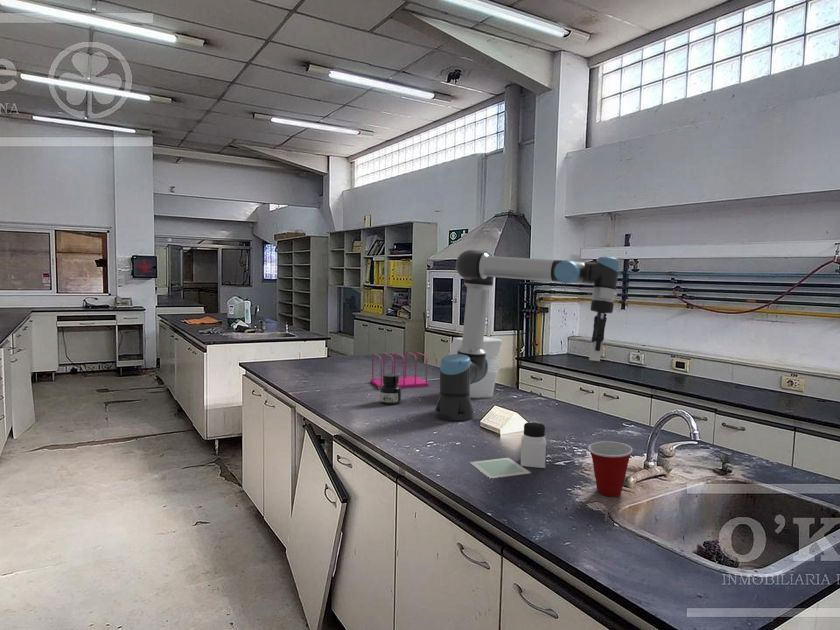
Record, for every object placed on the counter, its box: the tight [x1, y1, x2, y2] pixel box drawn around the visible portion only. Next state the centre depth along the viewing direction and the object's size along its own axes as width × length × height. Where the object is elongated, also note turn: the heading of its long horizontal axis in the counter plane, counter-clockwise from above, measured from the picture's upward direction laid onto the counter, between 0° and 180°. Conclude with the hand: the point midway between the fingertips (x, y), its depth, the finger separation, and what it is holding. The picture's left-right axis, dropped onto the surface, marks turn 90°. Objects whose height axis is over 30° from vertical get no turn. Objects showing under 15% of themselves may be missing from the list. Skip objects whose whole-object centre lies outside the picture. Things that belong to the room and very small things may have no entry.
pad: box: [469, 457, 532, 480], centre depth 154 cm, size 13×13×1 cm
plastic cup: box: [587, 441, 634, 497], centre depth 137 cm, size 11×11×12 cm
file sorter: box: [370, 351, 430, 389], centre depth 265 cm, size 17×25×16 cm
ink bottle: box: [379, 373, 402, 405], centre depth 228 cm, size 10×9×12 cm
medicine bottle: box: [520, 421, 548, 469], centre depth 157 cm, size 7×7×12 cm
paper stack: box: [448, 336, 503, 399], centre depth 246 cm, size 21×27×26 cm
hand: (594, 360), depth 188 cm, fingers open, 13 cm apart
